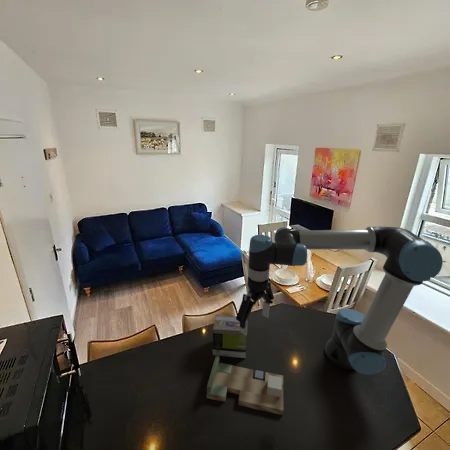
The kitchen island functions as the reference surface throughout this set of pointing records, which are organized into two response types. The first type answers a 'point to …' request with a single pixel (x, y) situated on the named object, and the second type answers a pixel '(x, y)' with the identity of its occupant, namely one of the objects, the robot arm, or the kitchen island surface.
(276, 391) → the cream block
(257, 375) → the block
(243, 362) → the kitchen island surface
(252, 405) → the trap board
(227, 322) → the tea box
